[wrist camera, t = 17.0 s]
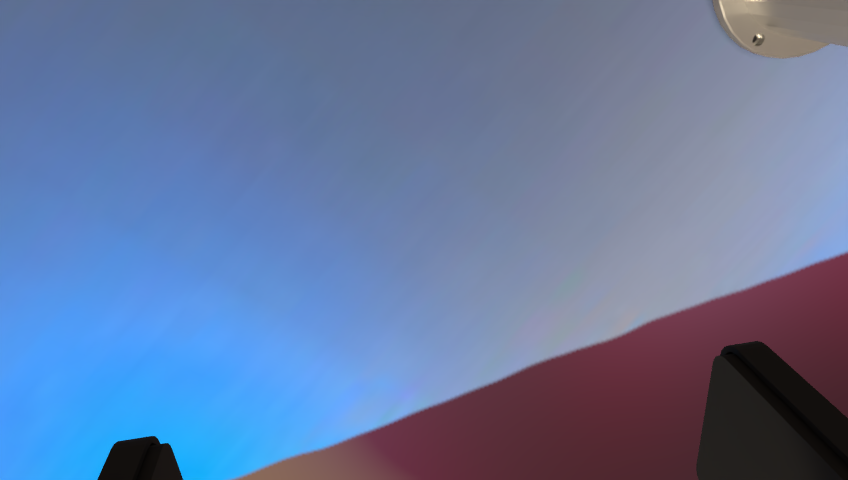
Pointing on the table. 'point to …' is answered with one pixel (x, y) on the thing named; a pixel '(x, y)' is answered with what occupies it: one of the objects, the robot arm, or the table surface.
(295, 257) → the table surface
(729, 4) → the robot arm
